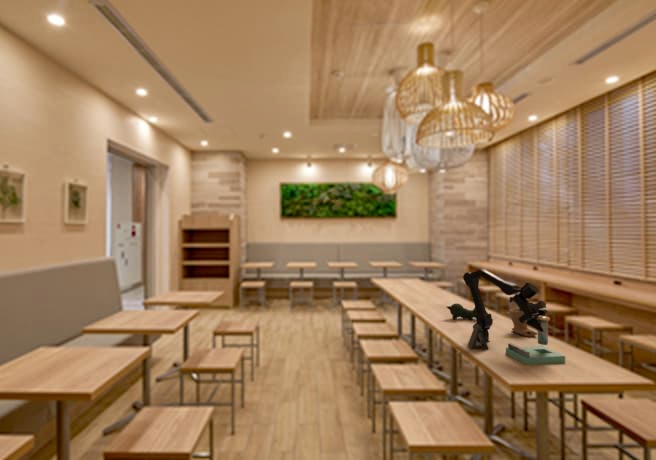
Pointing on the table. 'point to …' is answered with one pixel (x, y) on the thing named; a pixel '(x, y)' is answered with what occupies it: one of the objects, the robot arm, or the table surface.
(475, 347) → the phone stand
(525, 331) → the tan boot
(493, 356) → the table surface
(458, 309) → the toy figurine
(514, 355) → the jig
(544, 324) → the metal peg
